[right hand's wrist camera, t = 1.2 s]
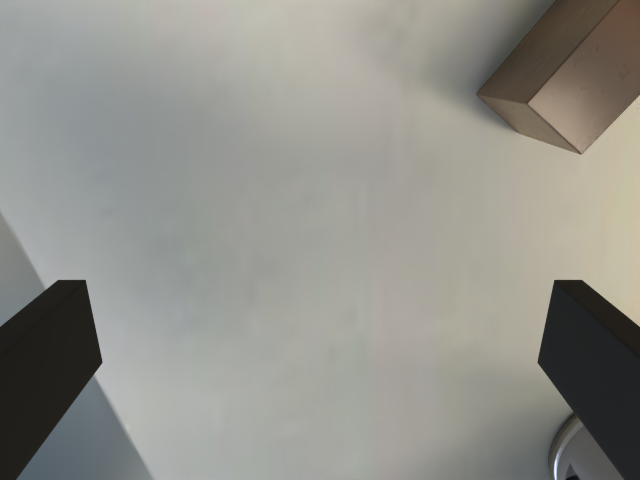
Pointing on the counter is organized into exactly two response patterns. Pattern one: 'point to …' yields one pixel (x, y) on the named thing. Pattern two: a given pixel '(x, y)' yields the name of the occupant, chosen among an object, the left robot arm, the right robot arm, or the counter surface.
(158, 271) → the counter surface
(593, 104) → the bar
